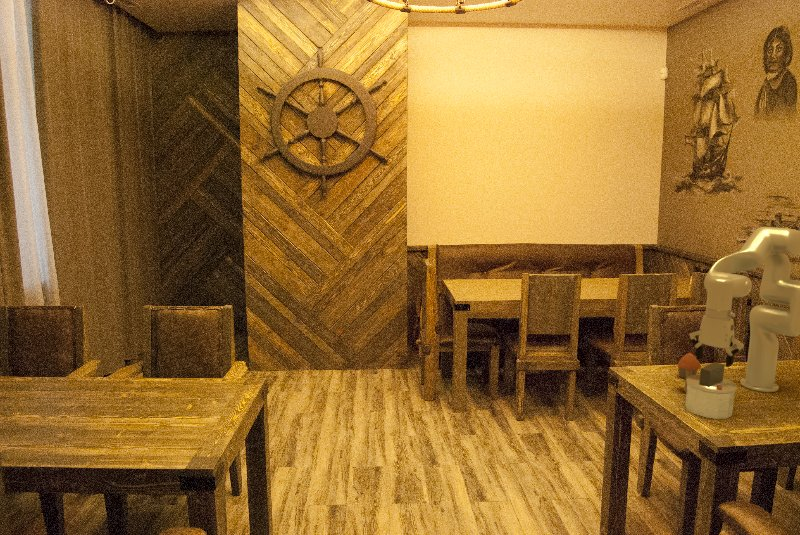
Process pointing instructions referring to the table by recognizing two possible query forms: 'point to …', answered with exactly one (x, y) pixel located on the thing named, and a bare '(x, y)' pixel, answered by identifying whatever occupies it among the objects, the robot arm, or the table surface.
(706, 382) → the lid
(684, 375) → the vase
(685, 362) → the mushroom
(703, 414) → the pot
